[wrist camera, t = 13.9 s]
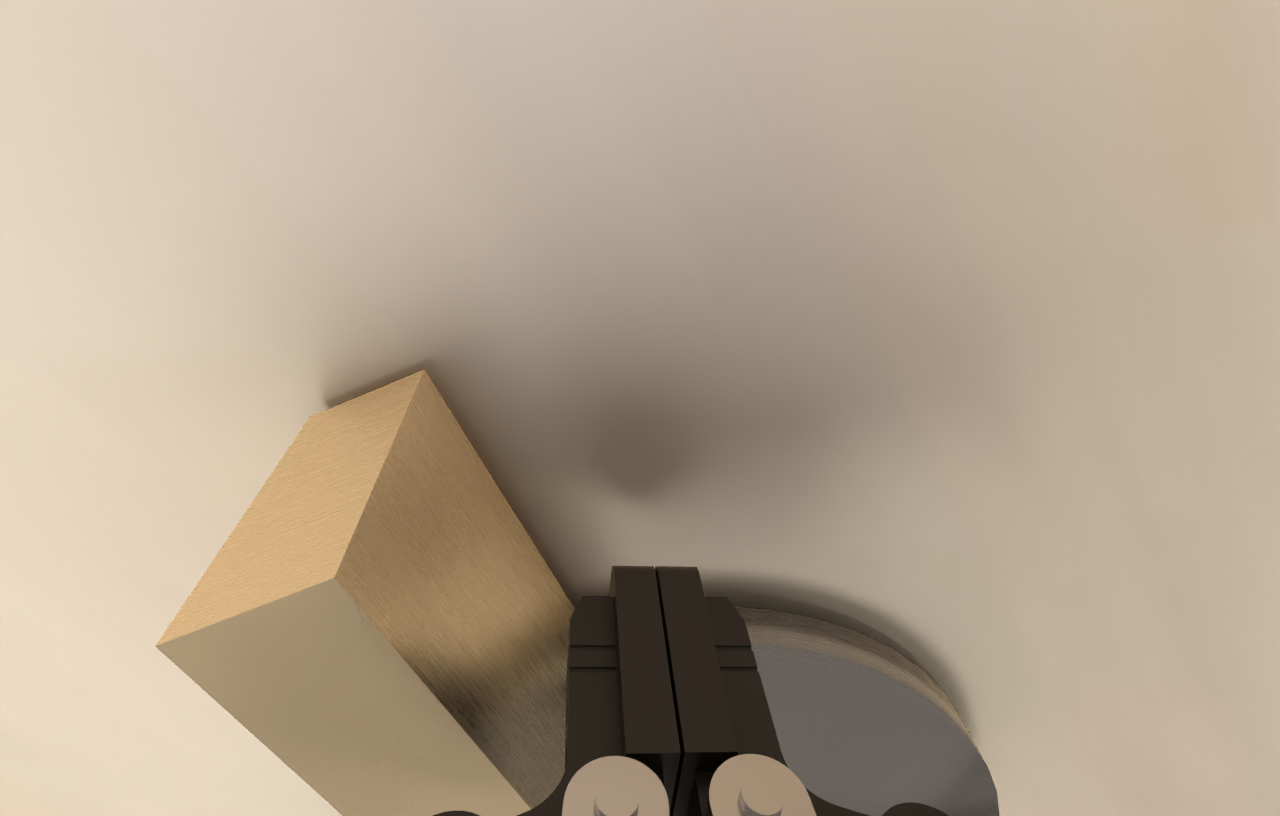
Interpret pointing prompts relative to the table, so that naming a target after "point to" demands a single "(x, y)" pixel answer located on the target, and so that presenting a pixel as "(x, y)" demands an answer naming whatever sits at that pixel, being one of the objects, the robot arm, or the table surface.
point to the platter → (489, 640)
